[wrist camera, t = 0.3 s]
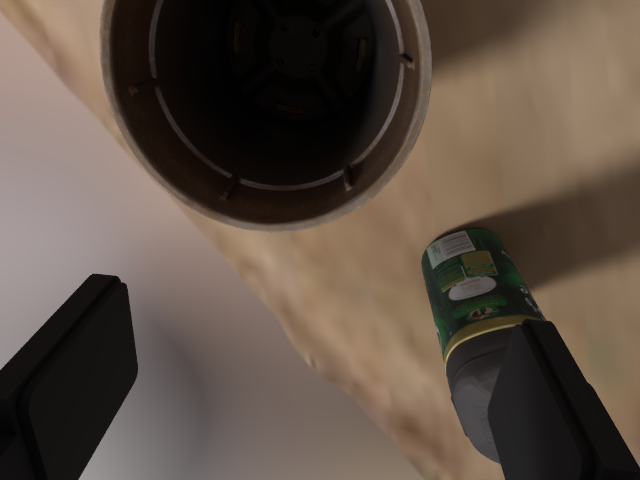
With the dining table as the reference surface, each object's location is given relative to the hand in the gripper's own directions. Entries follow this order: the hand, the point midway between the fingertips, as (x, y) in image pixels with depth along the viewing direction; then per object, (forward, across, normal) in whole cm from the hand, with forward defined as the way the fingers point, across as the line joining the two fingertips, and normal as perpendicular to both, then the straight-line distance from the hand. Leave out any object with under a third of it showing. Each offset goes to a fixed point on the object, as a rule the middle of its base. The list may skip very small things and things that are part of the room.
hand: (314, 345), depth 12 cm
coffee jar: (+31, -13, +15) cm, 37 cm away
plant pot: (+31, +4, -3) cm, 32 cm away
